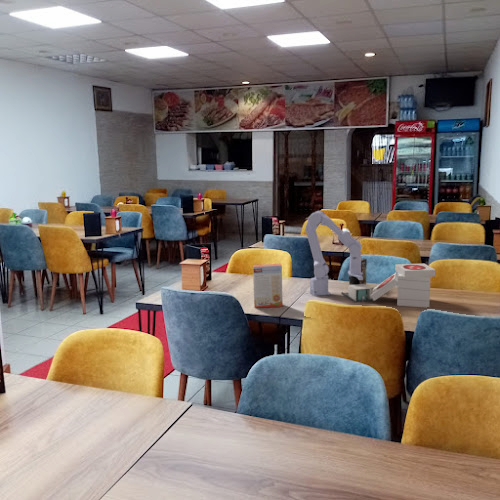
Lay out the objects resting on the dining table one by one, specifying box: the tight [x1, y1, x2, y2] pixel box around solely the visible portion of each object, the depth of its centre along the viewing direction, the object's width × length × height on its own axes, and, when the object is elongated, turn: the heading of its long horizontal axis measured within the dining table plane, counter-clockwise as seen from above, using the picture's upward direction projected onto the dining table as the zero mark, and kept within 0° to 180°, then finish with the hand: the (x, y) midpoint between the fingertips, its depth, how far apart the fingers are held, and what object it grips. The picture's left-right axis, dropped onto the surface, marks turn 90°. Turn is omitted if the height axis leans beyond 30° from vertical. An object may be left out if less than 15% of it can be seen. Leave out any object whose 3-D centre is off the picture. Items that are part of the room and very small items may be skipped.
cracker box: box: [252, 263, 284, 309], centre depth 256 cm, size 14×6×21 cm, turn 92°
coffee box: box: [348, 258, 368, 285], centre depth 286 cm, size 9×6×16 cm
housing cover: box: [347, 283, 372, 301], centre depth 266 cm, size 9×8×6 cm
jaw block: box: [356, 289, 366, 300], centre depth 265 cm, size 4×4×5 cm
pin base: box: [340, 291, 374, 303], centre depth 270 cm, size 10×17×2 cm, turn 12°
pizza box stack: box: [370, 263, 436, 308], centre depth 258 cm, size 19×30×18 cm, turn 71°
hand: (355, 290), depth 272 cm, fingers closed
